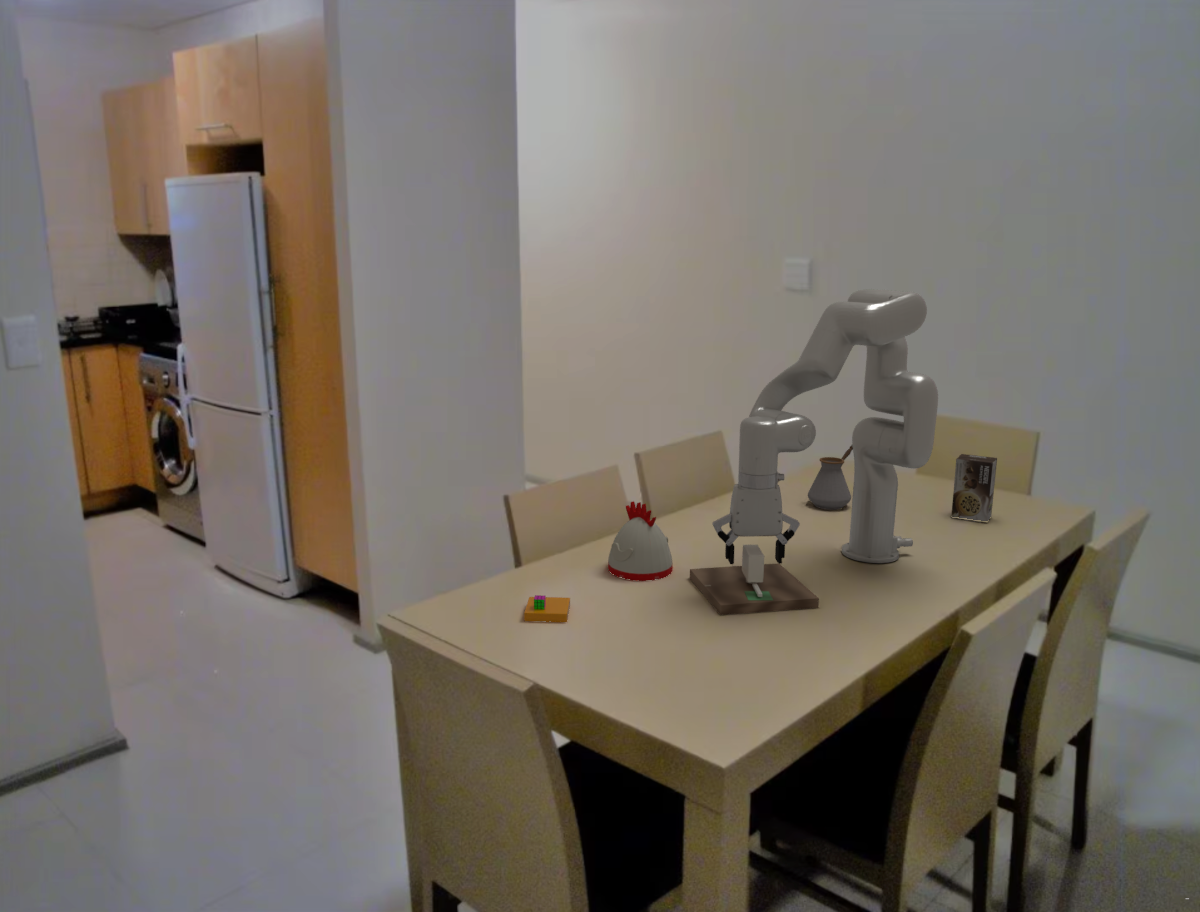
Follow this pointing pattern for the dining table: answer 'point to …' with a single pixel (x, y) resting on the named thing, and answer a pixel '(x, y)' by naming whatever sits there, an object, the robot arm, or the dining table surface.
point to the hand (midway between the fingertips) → (754, 561)
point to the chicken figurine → (640, 548)
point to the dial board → (752, 590)
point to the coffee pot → (830, 484)
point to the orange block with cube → (547, 609)
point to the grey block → (753, 566)
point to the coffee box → (974, 487)
